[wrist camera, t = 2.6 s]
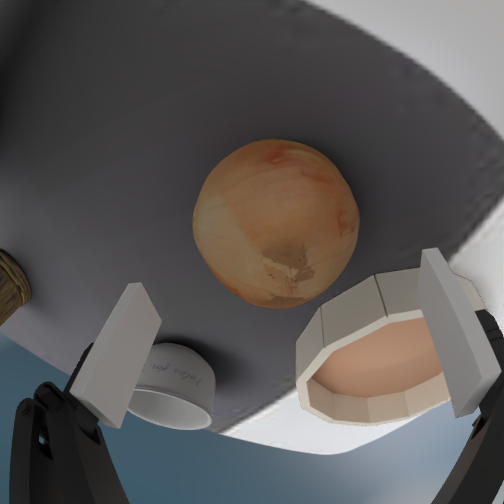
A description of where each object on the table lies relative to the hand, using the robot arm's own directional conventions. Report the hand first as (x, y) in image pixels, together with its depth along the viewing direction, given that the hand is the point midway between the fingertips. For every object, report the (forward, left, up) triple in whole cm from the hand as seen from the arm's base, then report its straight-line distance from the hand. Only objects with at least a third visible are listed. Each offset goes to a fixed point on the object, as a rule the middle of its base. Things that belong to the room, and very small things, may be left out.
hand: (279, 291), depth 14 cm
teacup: (+19, -17, -11) cm, 28 cm away
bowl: (+20, +10, -11) cm, 24 cm away
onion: (0, 0, -11) cm, 11 cm away
